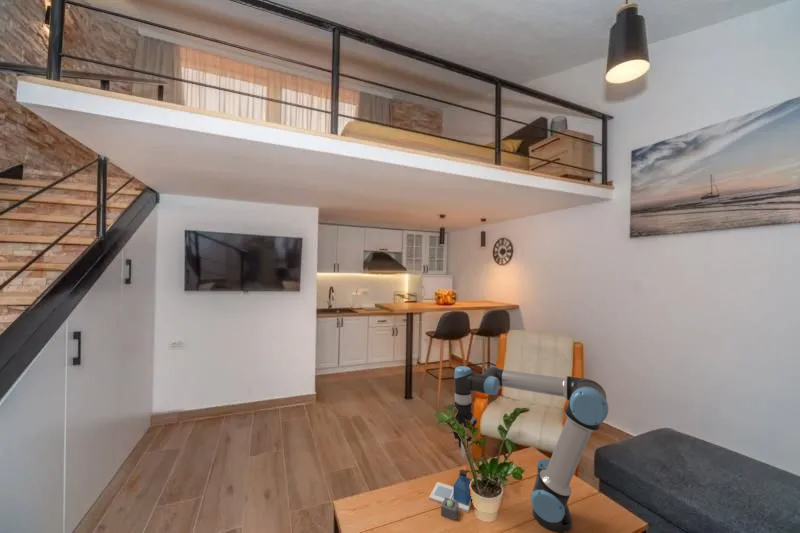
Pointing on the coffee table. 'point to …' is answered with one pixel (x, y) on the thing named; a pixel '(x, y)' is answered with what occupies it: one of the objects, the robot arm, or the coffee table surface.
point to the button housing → (449, 509)
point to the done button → (450, 503)
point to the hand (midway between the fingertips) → (463, 455)
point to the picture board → (446, 495)
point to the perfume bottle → (462, 488)
